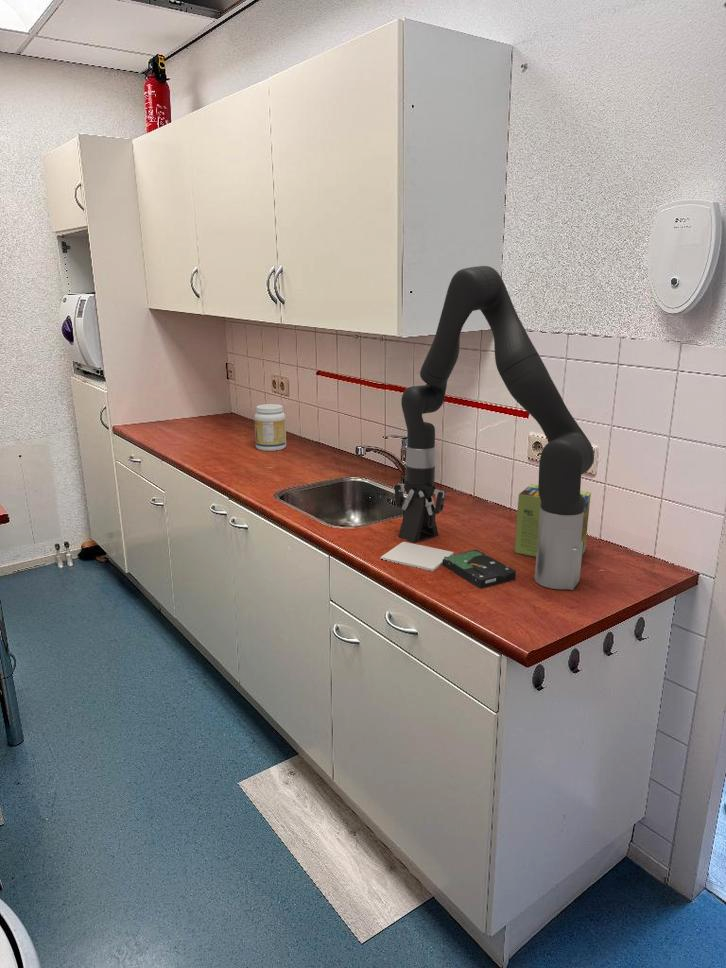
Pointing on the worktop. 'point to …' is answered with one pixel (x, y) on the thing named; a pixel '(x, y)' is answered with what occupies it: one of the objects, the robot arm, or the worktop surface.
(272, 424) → the supplement tub
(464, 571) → the disk drive
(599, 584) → the worktop surface
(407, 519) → the phone stand
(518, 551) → the protein box
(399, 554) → the grey mat
